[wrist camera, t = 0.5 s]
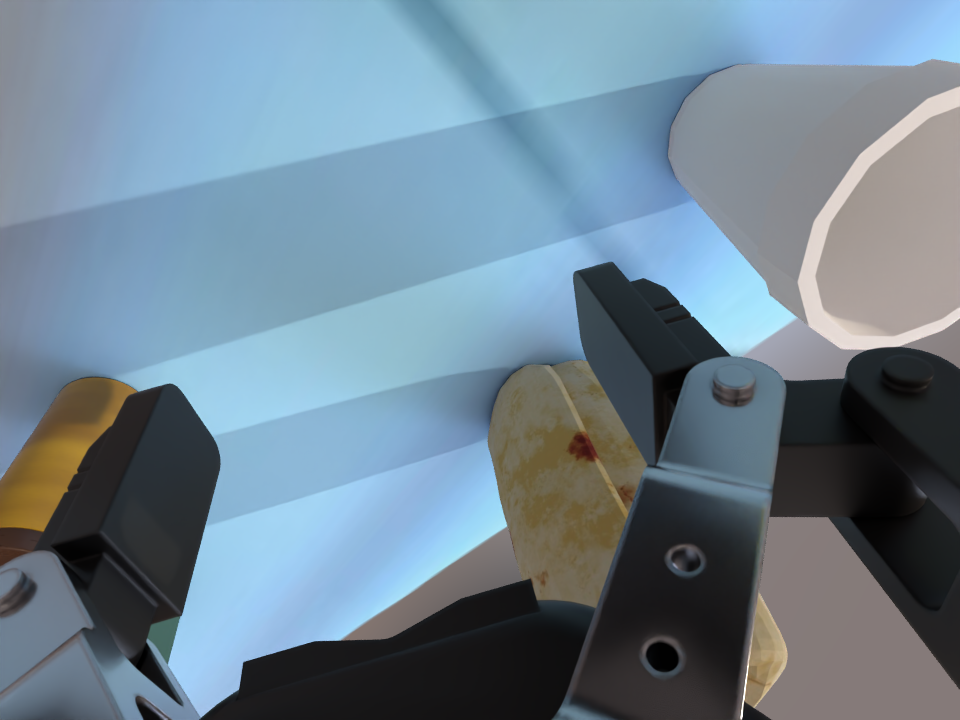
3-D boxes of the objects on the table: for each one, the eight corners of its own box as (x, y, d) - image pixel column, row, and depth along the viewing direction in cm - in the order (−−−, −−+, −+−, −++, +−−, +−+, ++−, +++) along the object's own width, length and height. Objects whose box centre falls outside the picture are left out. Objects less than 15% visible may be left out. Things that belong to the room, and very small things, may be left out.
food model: (511, 458, 40) (621, 800, 24) (451, 405, 36) (533, 766, 20) (631, 378, 38) (842, 694, 21) (580, 312, 34) (789, 634, 18)
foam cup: (827, 161, 31) (1068, 263, 21) (673, 253, 33) (825, 391, 22) (794, -19, 26) (1096, -3, 15) (611, 101, 27) (773, 190, 17)
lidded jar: (36, 391, 30) (-94, 569, 22) (120, 366, 31) (25, 533, 22) (90, 451, 33) (-5, 630, 24) (167, 427, 33) (100, 598, 24)
